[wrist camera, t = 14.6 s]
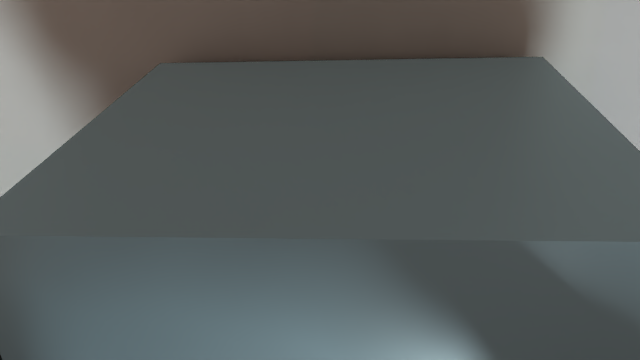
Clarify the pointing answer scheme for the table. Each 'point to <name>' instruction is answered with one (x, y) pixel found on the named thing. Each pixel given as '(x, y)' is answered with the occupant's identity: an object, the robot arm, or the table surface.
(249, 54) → the table surface
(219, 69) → the smooth grey cuboid
